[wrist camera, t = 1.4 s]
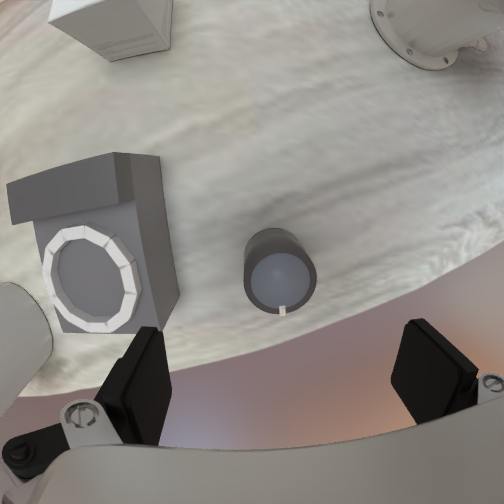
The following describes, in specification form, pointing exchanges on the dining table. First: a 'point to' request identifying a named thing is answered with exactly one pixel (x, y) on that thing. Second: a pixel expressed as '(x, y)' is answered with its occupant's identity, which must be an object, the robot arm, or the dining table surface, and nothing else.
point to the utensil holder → (20, 342)
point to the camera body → (102, 241)
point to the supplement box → (115, 25)
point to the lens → (278, 272)
